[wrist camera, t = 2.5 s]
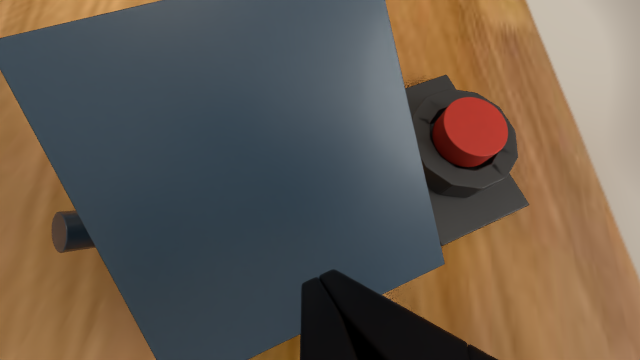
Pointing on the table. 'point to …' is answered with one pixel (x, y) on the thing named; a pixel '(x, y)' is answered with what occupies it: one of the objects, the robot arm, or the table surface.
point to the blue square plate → (231, 159)
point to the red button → (469, 132)
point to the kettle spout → (70, 232)
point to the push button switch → (461, 168)
